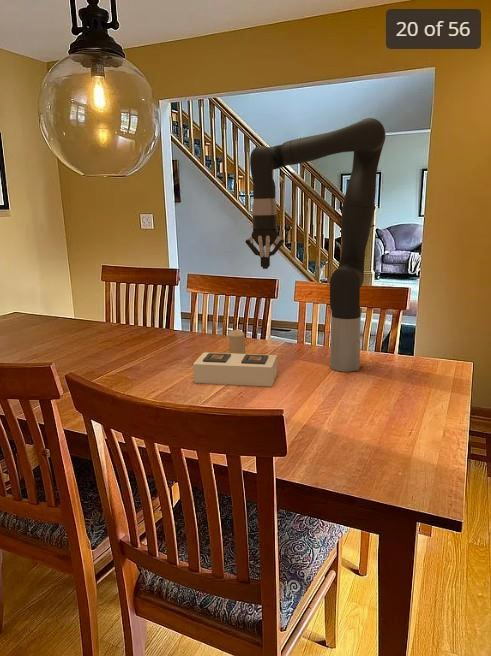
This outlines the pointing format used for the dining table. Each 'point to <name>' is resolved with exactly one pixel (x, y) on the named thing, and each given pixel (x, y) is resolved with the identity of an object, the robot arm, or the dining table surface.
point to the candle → (237, 342)
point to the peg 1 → (217, 356)
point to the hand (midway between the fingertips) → (265, 268)
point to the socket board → (235, 369)
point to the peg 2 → (255, 358)
